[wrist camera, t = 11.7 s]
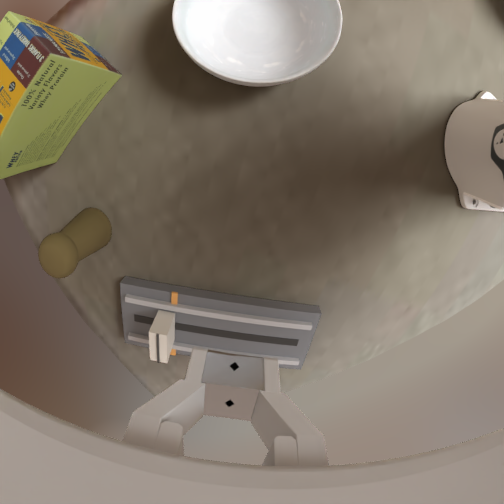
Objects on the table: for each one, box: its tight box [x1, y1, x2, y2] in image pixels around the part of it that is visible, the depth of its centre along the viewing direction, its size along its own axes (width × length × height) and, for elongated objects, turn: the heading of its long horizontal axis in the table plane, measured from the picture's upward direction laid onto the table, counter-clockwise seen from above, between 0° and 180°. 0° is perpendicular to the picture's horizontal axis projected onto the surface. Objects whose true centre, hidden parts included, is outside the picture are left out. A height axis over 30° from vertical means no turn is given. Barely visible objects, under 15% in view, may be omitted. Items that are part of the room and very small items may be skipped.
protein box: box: [0, 11, 122, 179], centre depth 22 cm, size 10×15×16 cm
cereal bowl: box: [172, 0, 342, 87], centre depth 24 cm, size 17×17×7 cm
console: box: [120, 276, 321, 369], centre depth 42 cm, size 28×11×3 cm, turn 80°
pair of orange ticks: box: [170, 291, 178, 356], centre depth 40 cm, size 1×11×1 cm, turn 171°
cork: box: [38, 208, 112, 278], centre depth 32 cm, size 6×6×11 cm
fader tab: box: [149, 310, 175, 363], centre depth 38 cm, size 2×5×5 cm, turn 170°
